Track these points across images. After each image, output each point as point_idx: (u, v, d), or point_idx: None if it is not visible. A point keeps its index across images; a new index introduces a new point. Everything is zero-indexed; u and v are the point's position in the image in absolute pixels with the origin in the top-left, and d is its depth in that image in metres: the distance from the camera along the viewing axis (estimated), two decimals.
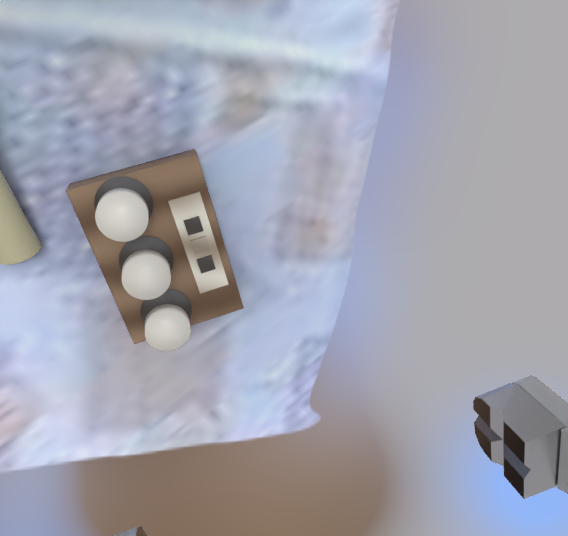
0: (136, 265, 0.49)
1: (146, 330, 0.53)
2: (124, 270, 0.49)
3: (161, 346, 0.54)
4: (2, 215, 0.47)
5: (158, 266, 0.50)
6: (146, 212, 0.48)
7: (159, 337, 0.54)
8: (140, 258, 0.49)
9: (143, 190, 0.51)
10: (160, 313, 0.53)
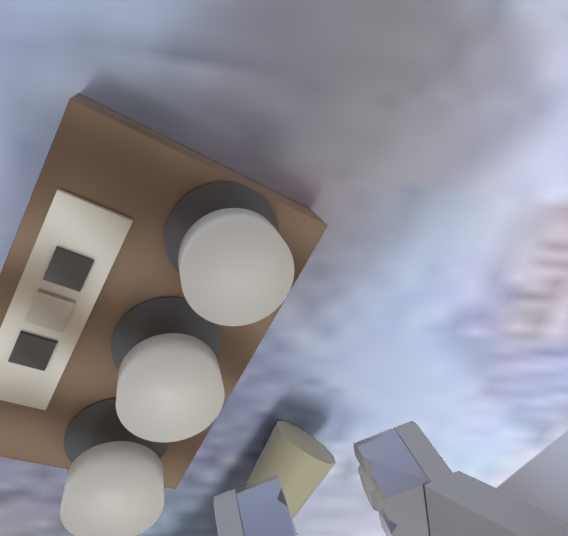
0: (164, 431, 0.23)
1: (268, 312, 0.22)
2: (191, 434, 0.24)
3: (279, 257, 0.21)
4: None
5: (130, 407, 0.22)
6: (66, 497, 0.23)
7: (264, 278, 0.21)
8: (147, 437, 0.23)
9: (71, 442, 0.28)
10: None
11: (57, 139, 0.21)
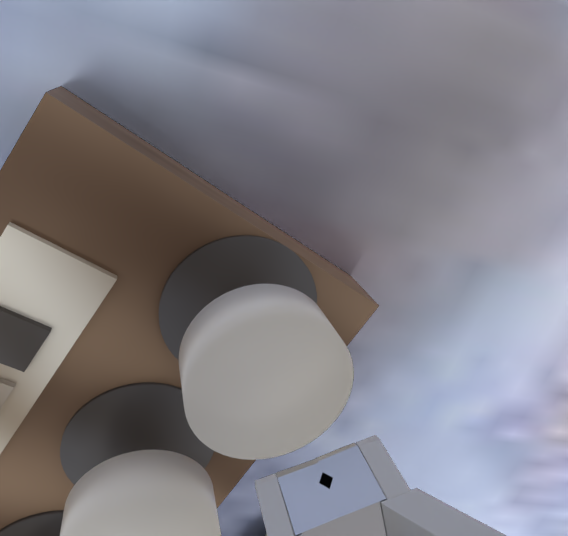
0: None
1: (304, 441, 0.15)
2: None
3: (335, 369, 0.14)
4: None
5: None
6: None
7: (307, 396, 0.14)
8: None
9: None
10: None
11: (18, 150, 0.14)
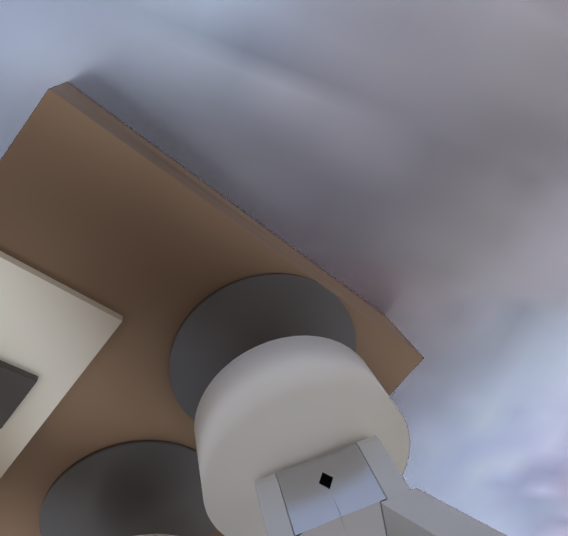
0: None
1: None
2: None
3: (388, 447, 0.11)
4: None
5: None
6: None
7: None
8: None
9: None
10: None
11: (9, 159, 0.11)
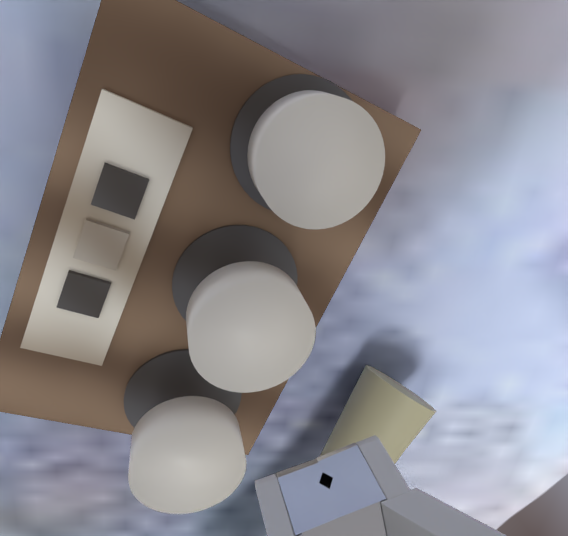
0: (246, 379, 0.19)
1: (355, 211, 0.19)
2: (276, 382, 0.20)
3: (368, 141, 0.18)
4: None
5: (206, 350, 0.18)
6: (135, 460, 0.20)
7: (350, 168, 0.18)
8: (225, 387, 0.19)
9: (131, 403, 0.24)
10: None
11: (99, 22, 0.17)
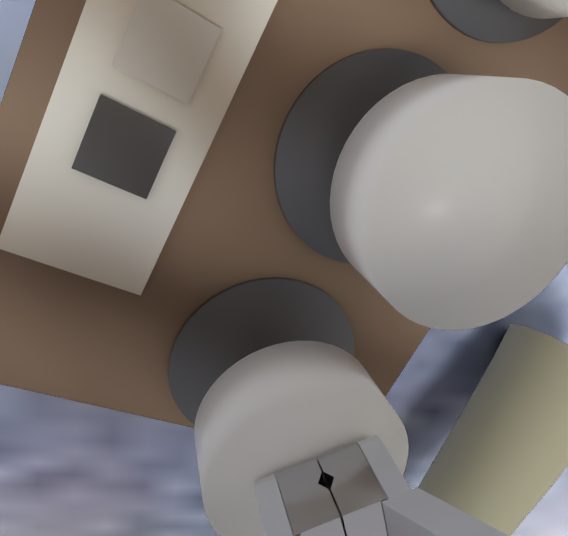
0: (454, 301, 0.10)
1: None
2: (500, 313, 0.10)
3: None
4: (518, 483, 0.18)
5: (401, 228, 0.09)
6: (221, 453, 0.10)
7: None
8: (415, 316, 0.10)
9: (182, 368, 0.14)
10: None
11: None
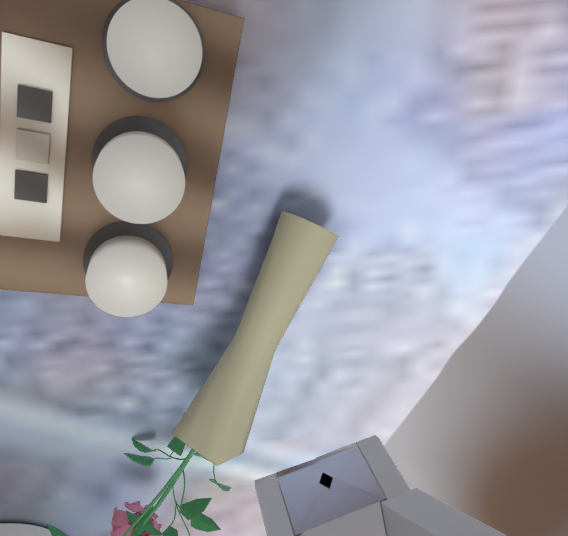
0: (144, 212, 0.28)
1: (191, 79, 0.27)
2: (167, 213, 0.28)
3: (183, 25, 0.26)
4: (279, 288, 0.35)
5: (108, 193, 0.27)
6: (87, 276, 0.30)
7: (176, 47, 0.26)
8: (131, 220, 0.28)
9: None
10: (150, 96, 0.27)
11: None
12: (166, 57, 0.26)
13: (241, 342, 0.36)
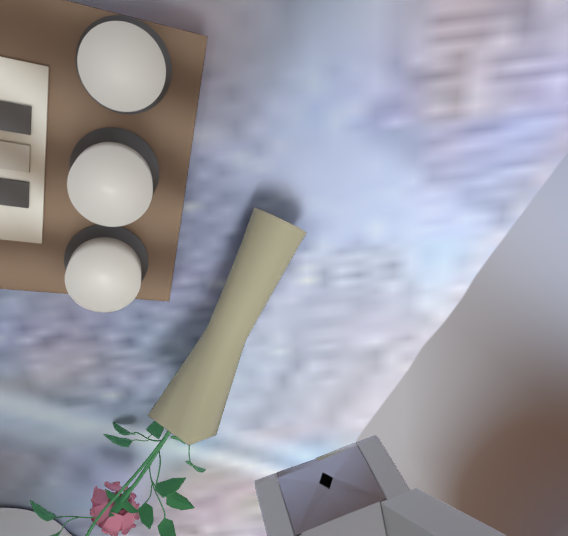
0: (115, 216, 0.30)
1: (156, 94, 0.29)
2: (137, 216, 0.31)
3: (147, 46, 0.28)
4: (250, 280, 0.38)
5: (82, 199, 0.29)
6: (66, 275, 0.33)
7: (142, 66, 0.29)
8: (104, 224, 0.30)
9: None
10: (119, 110, 0.29)
11: None
12: (132, 75, 0.29)
13: (214, 330, 0.38)
